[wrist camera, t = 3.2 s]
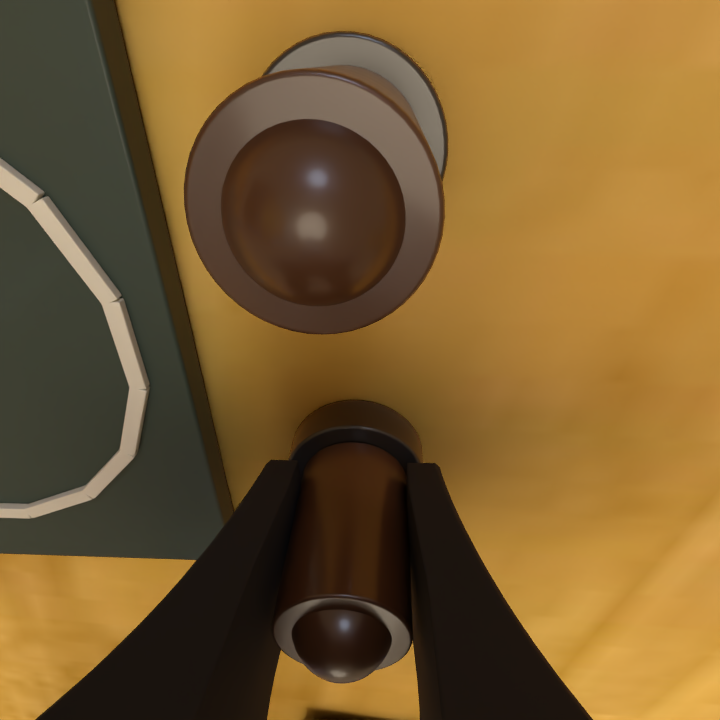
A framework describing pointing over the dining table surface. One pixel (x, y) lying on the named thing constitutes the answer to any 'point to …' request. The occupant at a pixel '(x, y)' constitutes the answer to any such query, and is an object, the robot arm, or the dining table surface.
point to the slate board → (92, 309)
